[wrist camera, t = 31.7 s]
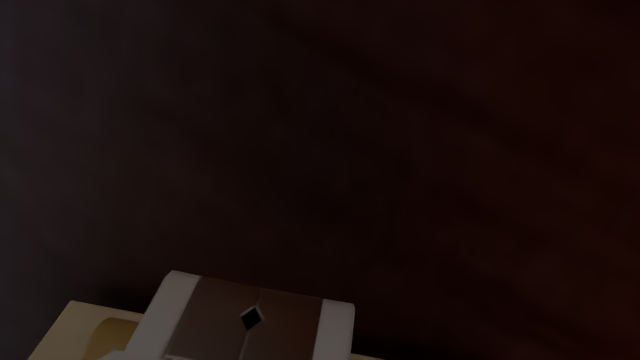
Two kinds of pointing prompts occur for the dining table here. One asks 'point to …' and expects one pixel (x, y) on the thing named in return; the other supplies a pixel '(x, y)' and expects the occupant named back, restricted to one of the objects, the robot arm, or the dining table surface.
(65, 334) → the drawer
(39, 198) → the dining table surface
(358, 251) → the dining table surface
